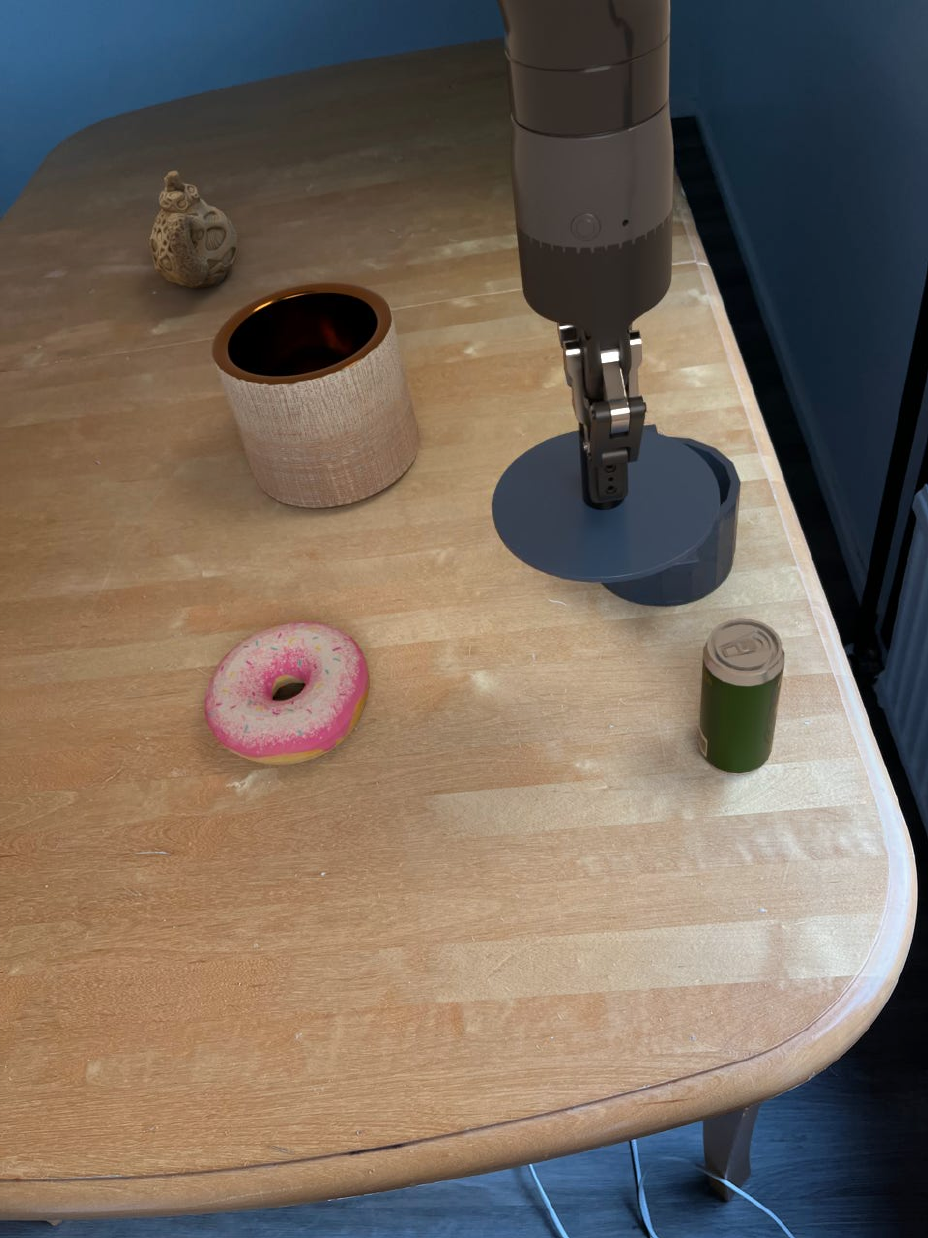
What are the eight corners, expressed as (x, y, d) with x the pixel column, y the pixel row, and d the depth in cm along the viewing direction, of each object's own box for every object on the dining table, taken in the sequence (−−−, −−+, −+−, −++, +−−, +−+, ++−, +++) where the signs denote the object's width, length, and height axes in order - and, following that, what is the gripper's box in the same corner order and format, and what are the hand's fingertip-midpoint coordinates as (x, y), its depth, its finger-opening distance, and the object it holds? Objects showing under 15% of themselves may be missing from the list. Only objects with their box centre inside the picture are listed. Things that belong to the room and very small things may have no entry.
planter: (424, 401, 113) (399, 270, 101) (416, 507, 101) (386, 373, 89) (269, 416, 115) (227, 290, 103) (242, 523, 103) (192, 393, 91)
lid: (690, 425, 68) (693, 345, 63) (745, 571, 58) (754, 489, 54) (483, 457, 68) (472, 380, 64) (505, 606, 59) (494, 528, 54)
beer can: (715, 788, 75) (724, 686, 66) (686, 732, 79) (690, 628, 70) (784, 766, 75) (801, 662, 67) (751, 712, 79) (763, 606, 70)
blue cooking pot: (708, 481, 98) (712, 408, 92) (757, 618, 85) (765, 544, 79) (577, 500, 98) (572, 429, 92) (607, 639, 86) (604, 567, 80)
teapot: (162, 257, 145) (122, 150, 134) (241, 237, 146) (208, 130, 135) (167, 333, 131) (122, 220, 120) (255, 311, 131) (219, 197, 120)
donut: (209, 788, 81) (188, 752, 78) (223, 661, 90) (205, 623, 87) (376, 763, 81) (363, 726, 77) (372, 638, 90) (361, 599, 86)
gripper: (706, 260, 44) (692, 550, 57) (642, 129, 53) (643, 402, 66) (533, 288, 44) (558, 570, 57) (500, 153, 54) (528, 420, 66)
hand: (603, 478), depth 61 cm, fingers closed on lid, 2 cm apart
